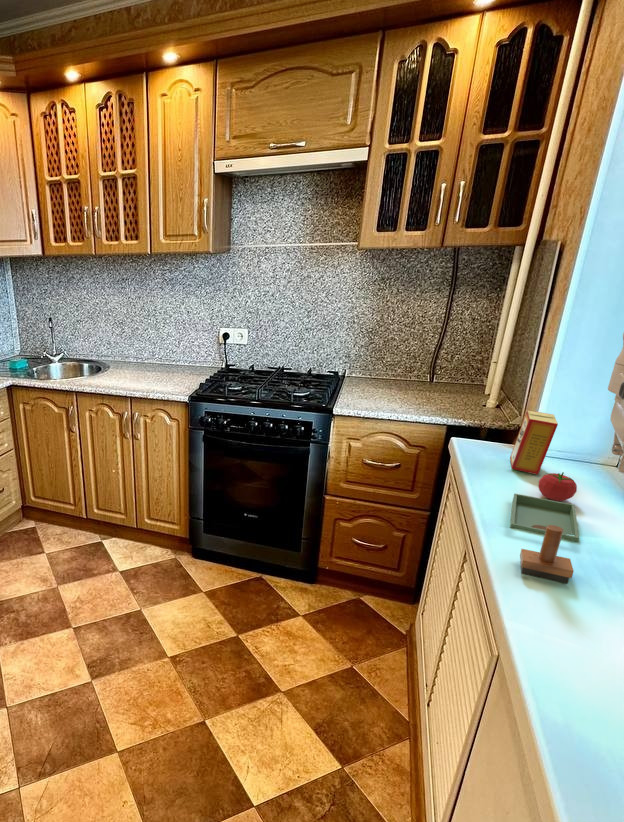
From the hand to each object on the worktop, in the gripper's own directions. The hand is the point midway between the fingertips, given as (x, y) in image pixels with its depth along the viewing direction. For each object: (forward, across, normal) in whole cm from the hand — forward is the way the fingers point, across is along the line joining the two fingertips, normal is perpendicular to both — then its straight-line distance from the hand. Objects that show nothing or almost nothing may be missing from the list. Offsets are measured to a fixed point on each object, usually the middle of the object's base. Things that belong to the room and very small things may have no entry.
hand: (621, 462), depth 89 cm
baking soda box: (+27, -69, -10) cm, 74 cm away
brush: (+27, -5, -6) cm, 28 cm away
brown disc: (+26, -23, -6) cm, 36 cm away
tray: (+27, -30, -6) cm, 40 cm away
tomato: (+27, -48, -3) cm, 55 cm away
